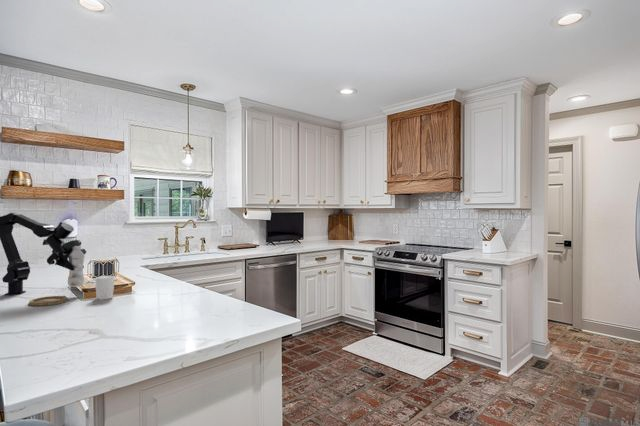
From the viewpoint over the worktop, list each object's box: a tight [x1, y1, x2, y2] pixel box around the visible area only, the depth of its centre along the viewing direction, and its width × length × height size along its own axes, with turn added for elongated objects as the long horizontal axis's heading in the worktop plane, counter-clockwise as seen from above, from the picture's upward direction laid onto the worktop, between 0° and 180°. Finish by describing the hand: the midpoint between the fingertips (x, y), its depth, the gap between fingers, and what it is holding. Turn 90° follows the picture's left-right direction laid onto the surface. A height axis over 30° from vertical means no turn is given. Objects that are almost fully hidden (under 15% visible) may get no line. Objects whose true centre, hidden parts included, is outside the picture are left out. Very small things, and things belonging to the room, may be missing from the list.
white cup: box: [94, 275, 115, 301], centre depth 175 cm, size 8×8×10 cm
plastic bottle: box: [67, 244, 85, 288], centre depth 179 cm, size 6×7×20 cm
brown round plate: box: [27, 295, 69, 307], centre depth 166 cm, size 14×14×1 cm
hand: (78, 268), depth 178 cm, fingers closed on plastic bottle, 6 cm apart
